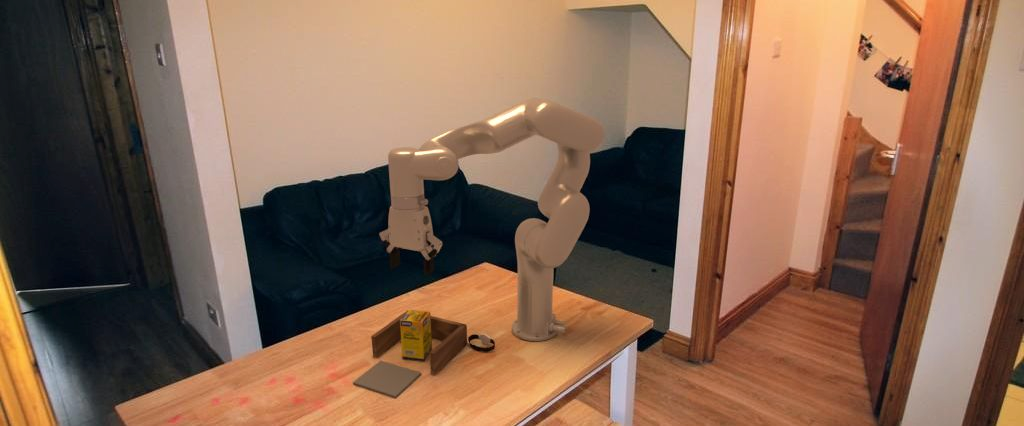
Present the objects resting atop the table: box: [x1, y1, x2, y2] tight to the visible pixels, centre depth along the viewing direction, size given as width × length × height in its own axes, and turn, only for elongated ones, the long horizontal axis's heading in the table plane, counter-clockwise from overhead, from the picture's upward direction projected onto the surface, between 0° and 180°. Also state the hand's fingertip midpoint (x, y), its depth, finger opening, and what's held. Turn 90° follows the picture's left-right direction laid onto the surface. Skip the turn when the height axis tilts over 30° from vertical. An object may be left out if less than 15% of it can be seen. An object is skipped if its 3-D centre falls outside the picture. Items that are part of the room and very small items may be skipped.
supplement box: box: [400, 309, 433, 362], centre depth 134 cm, size 6×6×11 cm
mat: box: [352, 360, 422, 399], centre depth 125 cm, size 12×10×1 cm
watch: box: [467, 332, 496, 353], centre depth 138 cm, size 8×5×4 cm, turn 61°
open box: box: [371, 309, 468, 377], centre depth 136 cm, size 18×15×6 cm
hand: (412, 269), depth 128 cm, fingers open, 9 cm apart
